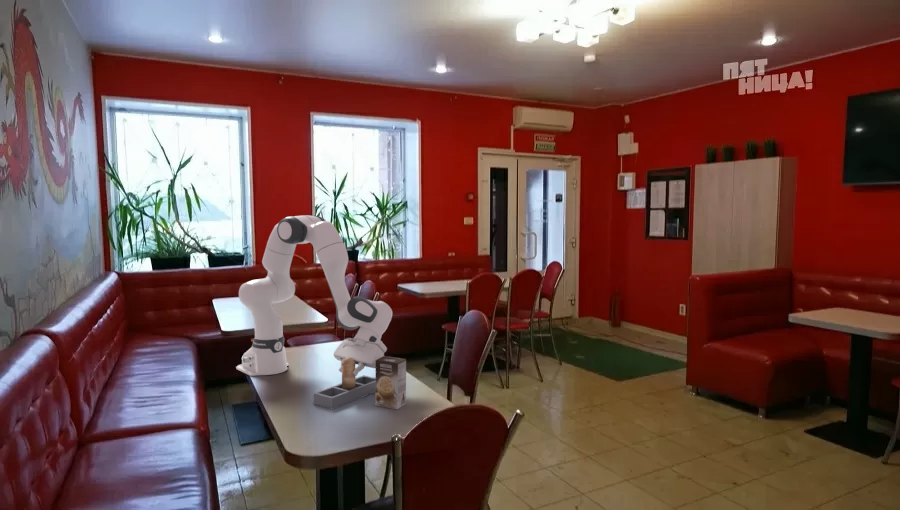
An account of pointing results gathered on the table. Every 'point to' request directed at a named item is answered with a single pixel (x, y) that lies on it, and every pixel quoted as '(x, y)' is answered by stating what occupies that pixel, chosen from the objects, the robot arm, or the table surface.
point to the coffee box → (390, 382)
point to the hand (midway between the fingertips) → (347, 373)
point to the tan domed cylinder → (348, 374)
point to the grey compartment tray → (345, 393)
